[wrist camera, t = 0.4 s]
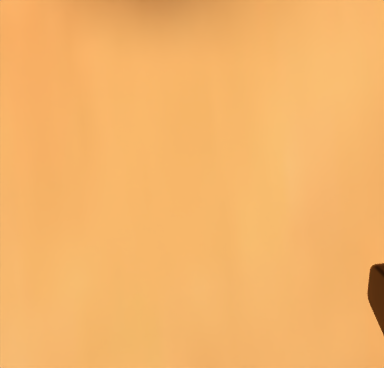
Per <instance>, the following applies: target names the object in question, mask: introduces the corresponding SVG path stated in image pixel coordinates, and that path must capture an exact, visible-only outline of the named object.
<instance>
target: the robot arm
mask: <svg viewBox="0 0 384 368" xmlns="http://www.w3.org/2000/svg"><path fill="white" fill-rule="evenodd" d="M368 300H369V303H370V305H371V308H372V310H373V312H374V314H375V317H376V319H377V321H378V323H379V326H380V328H381V330H382V332H383V335H384V263H382V264H375V265H373V266H372V267H371V269H370V275H369V284H368Z"/></svg>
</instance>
